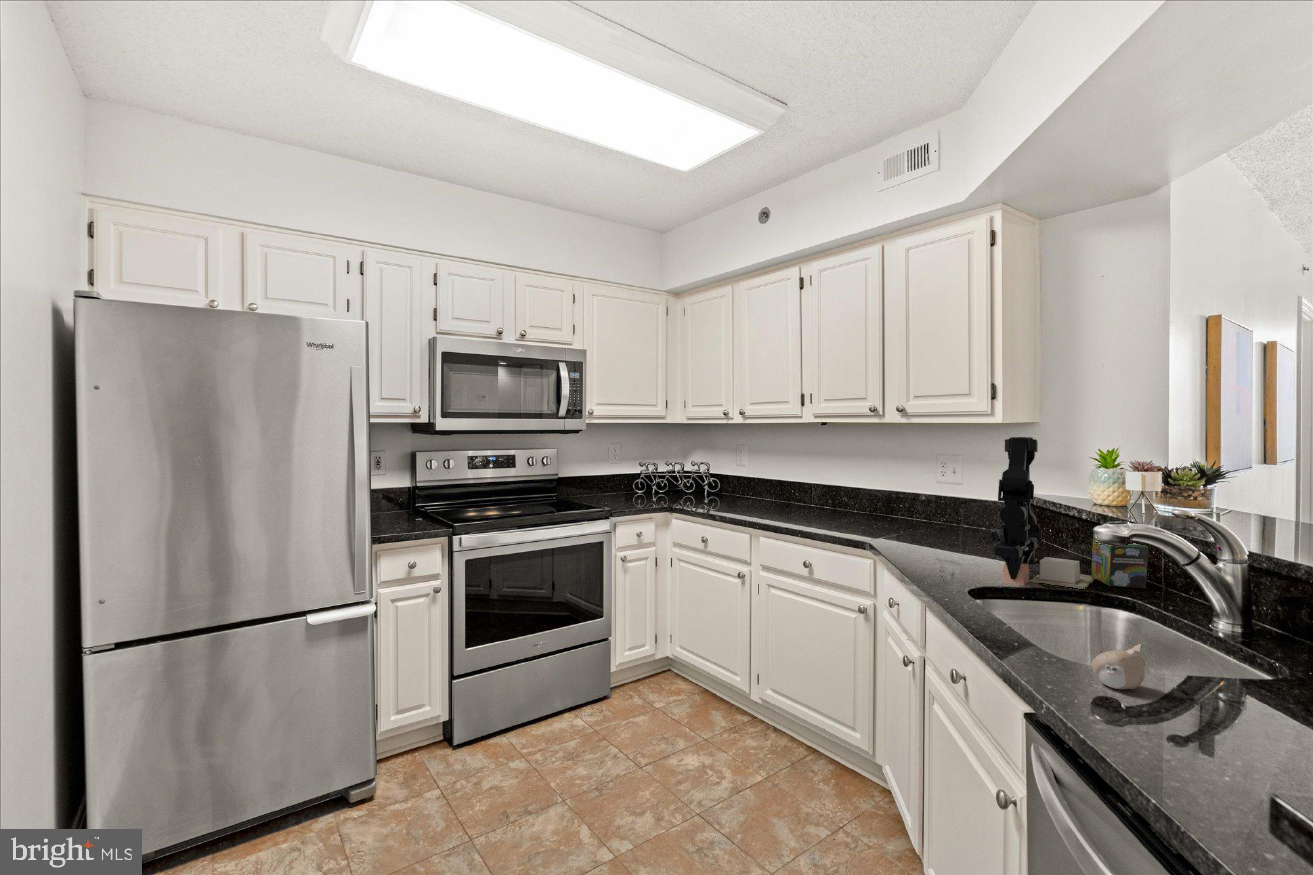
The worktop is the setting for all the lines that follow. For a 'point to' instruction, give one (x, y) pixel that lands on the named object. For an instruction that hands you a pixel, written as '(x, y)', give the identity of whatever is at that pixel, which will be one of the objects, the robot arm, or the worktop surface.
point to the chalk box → (1120, 565)
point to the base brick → (1060, 570)
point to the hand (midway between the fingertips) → (1016, 577)
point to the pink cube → (1021, 577)
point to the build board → (1080, 584)
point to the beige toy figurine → (1120, 668)
